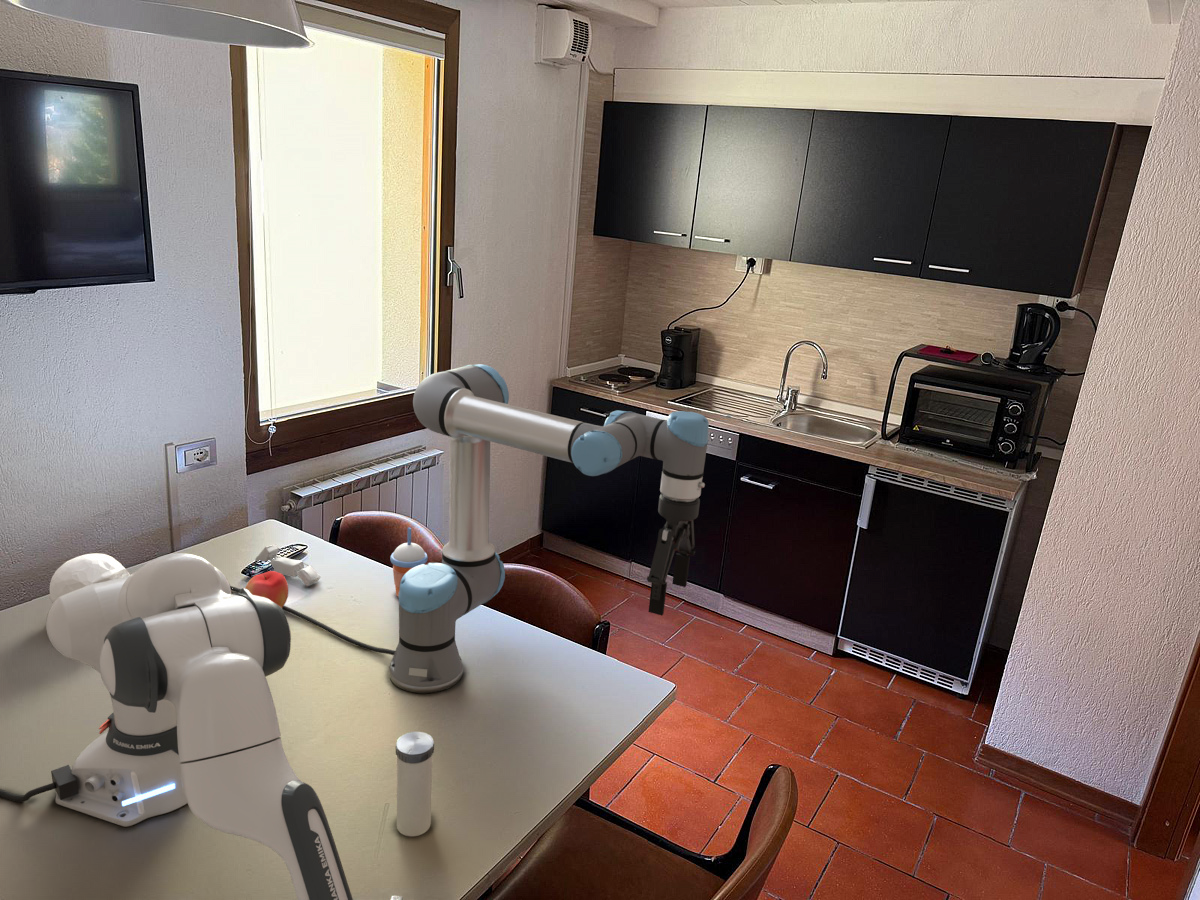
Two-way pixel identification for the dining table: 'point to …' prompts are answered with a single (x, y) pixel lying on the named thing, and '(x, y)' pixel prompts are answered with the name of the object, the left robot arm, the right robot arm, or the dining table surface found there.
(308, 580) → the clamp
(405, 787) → the jar
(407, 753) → the lid
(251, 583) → the apple
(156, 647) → the left robot arm
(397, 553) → the cup with straw
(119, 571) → the skull
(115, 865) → the dining table surface
